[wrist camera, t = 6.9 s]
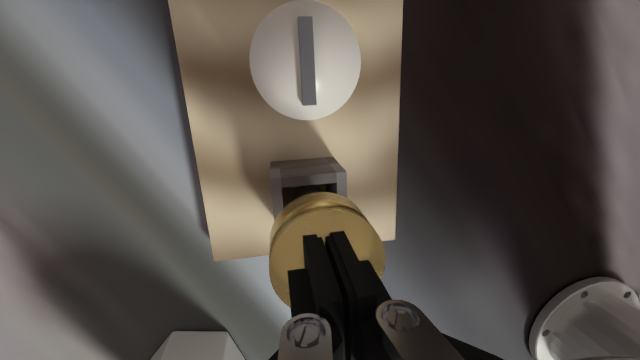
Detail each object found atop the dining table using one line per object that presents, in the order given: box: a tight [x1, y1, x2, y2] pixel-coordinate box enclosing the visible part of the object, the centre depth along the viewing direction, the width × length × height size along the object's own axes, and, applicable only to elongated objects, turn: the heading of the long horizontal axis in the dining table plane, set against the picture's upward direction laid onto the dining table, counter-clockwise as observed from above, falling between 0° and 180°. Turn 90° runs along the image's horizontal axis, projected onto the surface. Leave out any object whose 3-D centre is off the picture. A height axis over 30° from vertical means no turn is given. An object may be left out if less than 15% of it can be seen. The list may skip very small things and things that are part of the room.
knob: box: [269, 185, 385, 307], centre depth 16 cm, size 5×5×8 cm
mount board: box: [168, 0, 403, 262], centre depth 18 cm, size 26×14×6 cm, turn 3°
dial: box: [249, 0, 361, 120], centre depth 16 cm, size 5×5×6 cm
